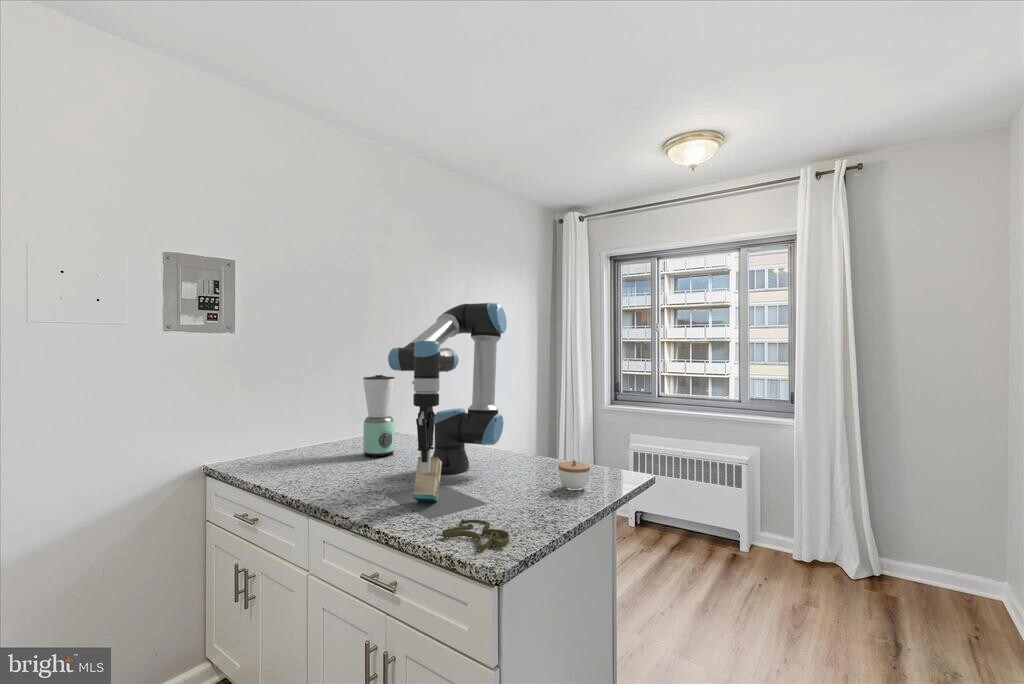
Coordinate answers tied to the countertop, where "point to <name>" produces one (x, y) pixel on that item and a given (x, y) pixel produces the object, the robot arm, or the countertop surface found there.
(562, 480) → the lidded jar
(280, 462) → the countertop surface
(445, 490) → the charcoal mat
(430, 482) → the maple block
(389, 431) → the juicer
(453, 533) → the cookie cutter
